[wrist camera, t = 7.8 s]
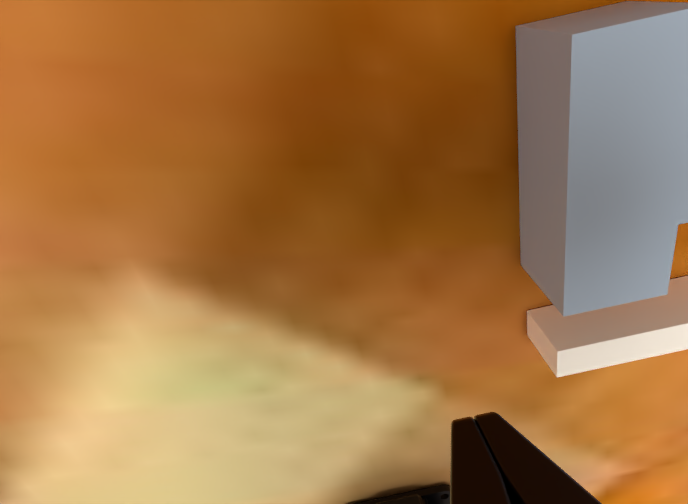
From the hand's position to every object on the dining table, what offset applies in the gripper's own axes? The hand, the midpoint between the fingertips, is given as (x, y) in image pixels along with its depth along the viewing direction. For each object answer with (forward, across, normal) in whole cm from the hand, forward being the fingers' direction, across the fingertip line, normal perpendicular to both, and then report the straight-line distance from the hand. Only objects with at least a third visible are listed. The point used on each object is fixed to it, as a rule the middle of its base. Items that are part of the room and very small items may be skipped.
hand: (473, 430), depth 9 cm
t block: (+12, -11, 0) cm, 16 cm away
